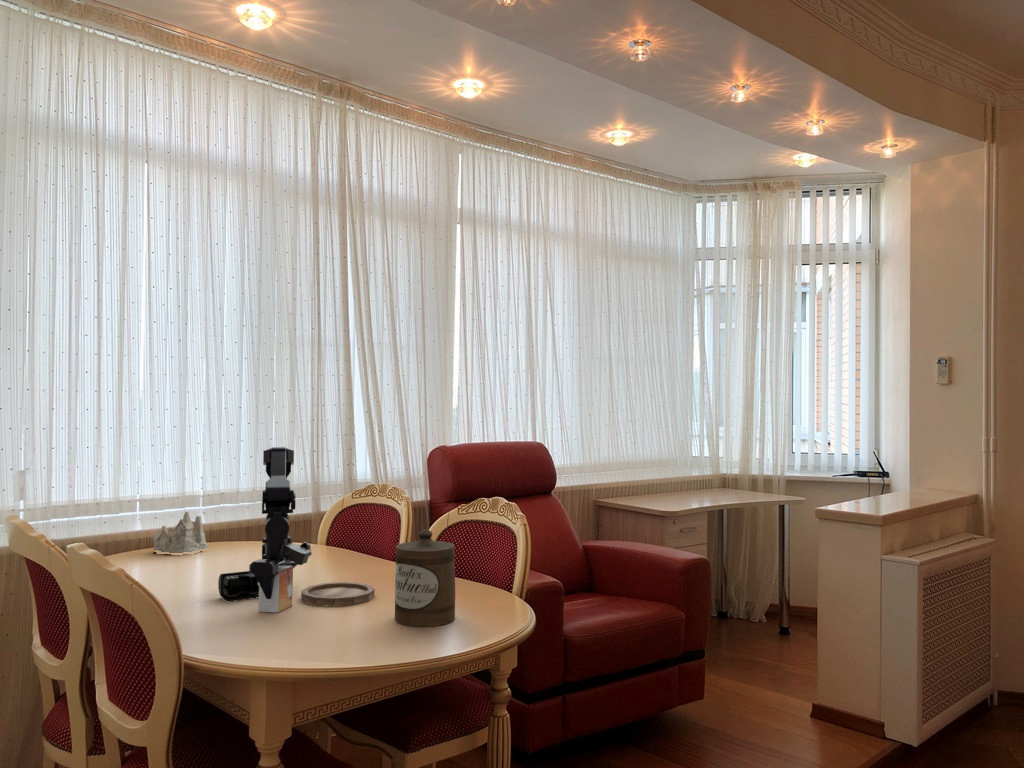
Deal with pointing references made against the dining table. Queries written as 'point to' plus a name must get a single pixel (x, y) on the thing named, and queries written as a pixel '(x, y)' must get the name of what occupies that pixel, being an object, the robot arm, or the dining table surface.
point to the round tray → (337, 593)
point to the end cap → (238, 586)
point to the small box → (278, 591)
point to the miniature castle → (181, 536)
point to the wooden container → (425, 582)
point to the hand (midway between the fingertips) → (276, 595)
